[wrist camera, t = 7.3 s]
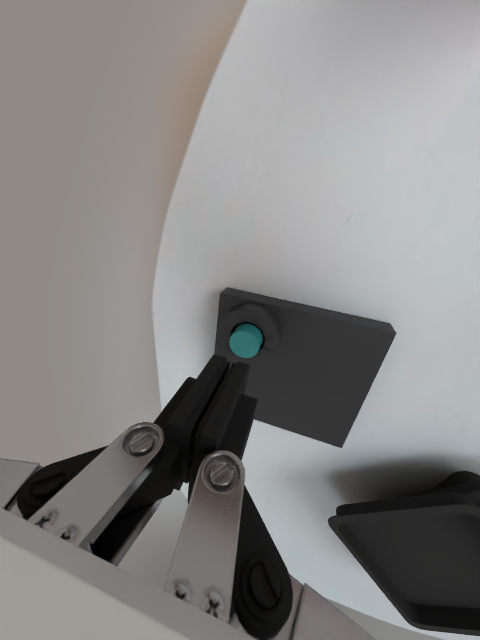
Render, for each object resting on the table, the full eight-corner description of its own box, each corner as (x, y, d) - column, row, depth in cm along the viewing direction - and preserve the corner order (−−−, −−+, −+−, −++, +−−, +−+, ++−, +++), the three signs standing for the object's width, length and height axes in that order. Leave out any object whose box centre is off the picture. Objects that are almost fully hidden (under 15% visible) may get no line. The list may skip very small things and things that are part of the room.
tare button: (233, 345, 23) (227, 353, 21) (236, 320, 21) (230, 327, 20) (260, 352, 22) (256, 361, 21) (265, 327, 21) (261, 335, 20)
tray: (737, 535, 20) (862, 632, 15) (543, 627, 30) (583, 702, 26) (352, 419, 26) (359, 464, 21) (301, 529, 36) (298, 575, 32)
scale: (215, 394, 30) (203, 414, 27) (226, 287, 24) (213, 298, 21) (340, 433, 27) (343, 462, 24) (390, 323, 21) (403, 343, 18)
